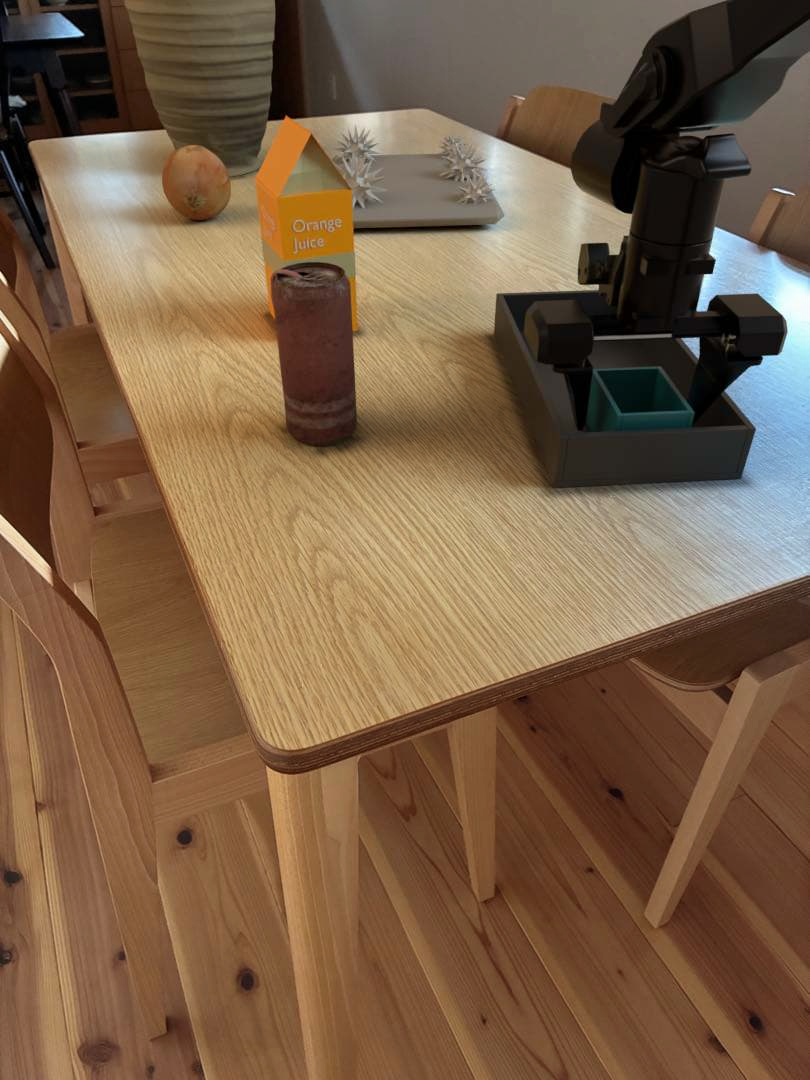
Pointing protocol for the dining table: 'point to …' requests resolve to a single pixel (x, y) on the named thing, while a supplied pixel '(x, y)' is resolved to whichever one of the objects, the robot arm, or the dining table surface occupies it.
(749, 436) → the tray
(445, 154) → the decorative tray
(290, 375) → the soda can
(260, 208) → the orange juice
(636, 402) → the teal bin
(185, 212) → the onion
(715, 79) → the robot arm
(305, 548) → the dining table surface
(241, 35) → the vase
